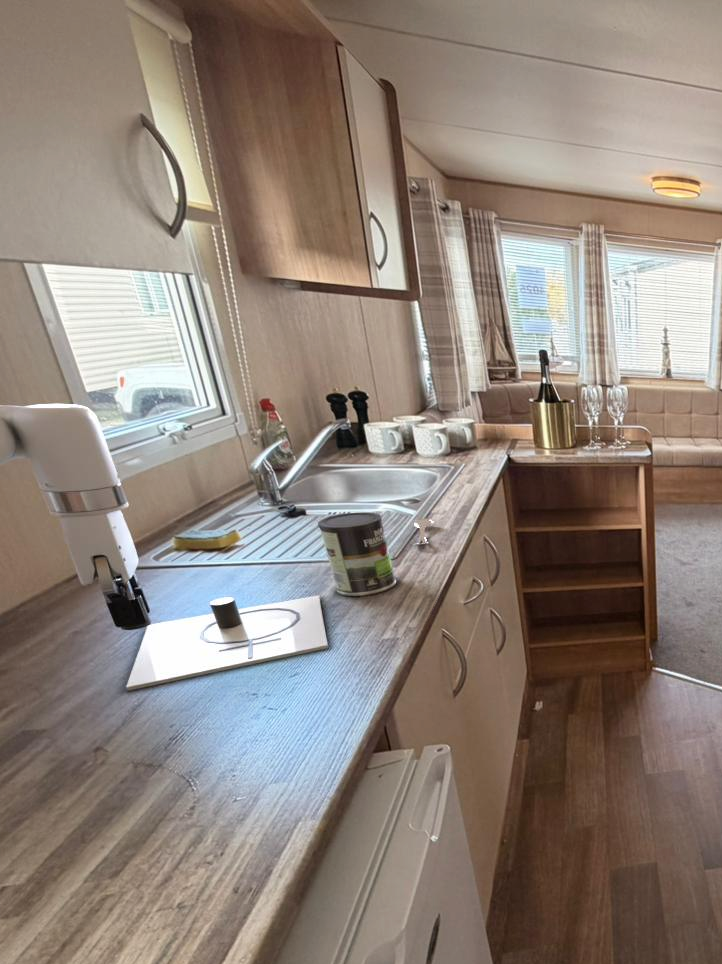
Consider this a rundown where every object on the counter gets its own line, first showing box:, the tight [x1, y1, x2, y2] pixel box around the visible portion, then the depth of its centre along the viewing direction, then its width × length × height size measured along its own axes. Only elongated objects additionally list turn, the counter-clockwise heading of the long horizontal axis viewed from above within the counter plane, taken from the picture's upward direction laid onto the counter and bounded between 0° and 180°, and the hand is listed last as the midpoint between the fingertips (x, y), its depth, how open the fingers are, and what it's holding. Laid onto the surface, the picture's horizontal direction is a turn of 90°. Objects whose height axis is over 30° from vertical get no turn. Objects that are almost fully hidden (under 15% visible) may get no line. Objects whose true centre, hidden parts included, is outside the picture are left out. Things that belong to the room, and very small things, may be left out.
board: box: [125, 594, 329, 692], centre depth 107 cm, size 24×24×1 cm
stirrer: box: [411, 518, 434, 546], centre depth 155 cm, size 20×4×5 cm
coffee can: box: [317, 511, 397, 597], centre depth 126 cm, size 10×10×14 cm
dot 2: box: [209, 597, 242, 629], centre depth 109 cm, size 3×3×4 cm
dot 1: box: [120, 594, 152, 631], centre depth 94 cm, size 3×3×4 cm
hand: (133, 618), depth 94 cm, fingers closed on dot 1, 3 cm apart
